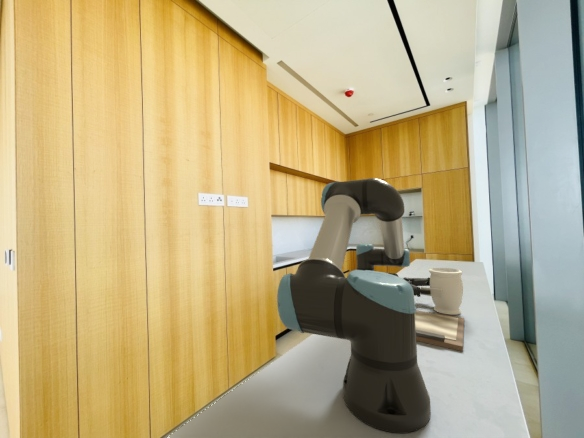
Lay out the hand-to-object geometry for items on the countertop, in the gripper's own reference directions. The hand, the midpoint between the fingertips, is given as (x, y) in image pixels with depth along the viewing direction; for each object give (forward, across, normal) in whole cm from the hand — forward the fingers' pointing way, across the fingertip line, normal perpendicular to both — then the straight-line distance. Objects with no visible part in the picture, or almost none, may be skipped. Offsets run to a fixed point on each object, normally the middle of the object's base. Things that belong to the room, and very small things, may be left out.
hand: (445, 289), depth 90 cm
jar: (0, 0, -8) cm, 8 cm away
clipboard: (-1, +20, -8) cm, 21 cm away
